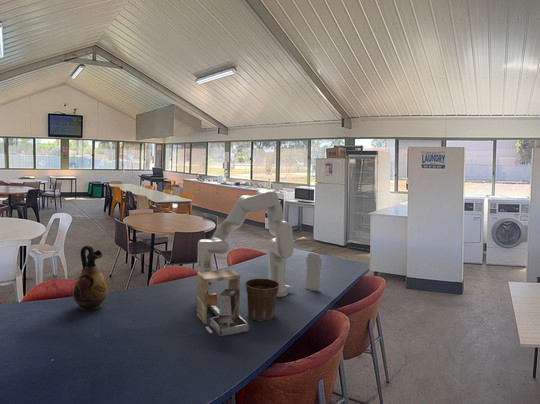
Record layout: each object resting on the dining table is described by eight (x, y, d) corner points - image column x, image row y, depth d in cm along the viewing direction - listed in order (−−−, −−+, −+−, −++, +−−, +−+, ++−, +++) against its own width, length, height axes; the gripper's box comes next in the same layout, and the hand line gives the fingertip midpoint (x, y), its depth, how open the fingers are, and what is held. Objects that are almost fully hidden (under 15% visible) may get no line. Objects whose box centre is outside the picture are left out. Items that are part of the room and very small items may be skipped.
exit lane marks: (243, 320, 174) (243, 320, 174) (249, 325, 169) (249, 325, 169) (205, 327, 166) (205, 327, 166) (210, 333, 160) (210, 332, 160)
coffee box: (232, 333, 161) (233, 296, 160) (218, 331, 163) (218, 294, 161) (238, 324, 170) (239, 289, 169) (224, 322, 172) (225, 288, 170)
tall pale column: (303, 288, 224) (304, 251, 221) (306, 286, 227) (308, 250, 225) (318, 292, 217) (320, 254, 215) (322, 290, 220) (323, 253, 218)
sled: (221, 304, 192) (221, 292, 192) (248, 330, 163) (249, 316, 163) (196, 308, 186) (196, 295, 186) (220, 336, 157) (220, 321, 157)
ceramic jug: (114, 304, 189) (114, 245, 186) (88, 315, 175) (87, 251, 172) (90, 298, 196) (89, 241, 193) (63, 308, 182) (62, 247, 180)
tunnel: (230, 309, 187) (231, 269, 185) (239, 317, 177) (240, 275, 176) (196, 315, 179) (197, 272, 177) (204, 324, 170) (204, 279, 168)
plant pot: (282, 312, 185) (284, 280, 184) (272, 325, 170) (273, 290, 168) (251, 307, 190) (252, 276, 189) (238, 319, 175) (239, 286, 174)
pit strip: (224, 305, 193) (224, 304, 193) (226, 307, 190) (226, 306, 190) (193, 310, 185) (193, 309, 185) (195, 312, 183) (195, 311, 183)
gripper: (217, 266, 189) (216, 302, 191) (207, 259, 203) (206, 293, 204) (202, 268, 186) (202, 304, 188) (193, 260, 199) (193, 294, 201)
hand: (204, 298), depth 196 cm, fingers closed
